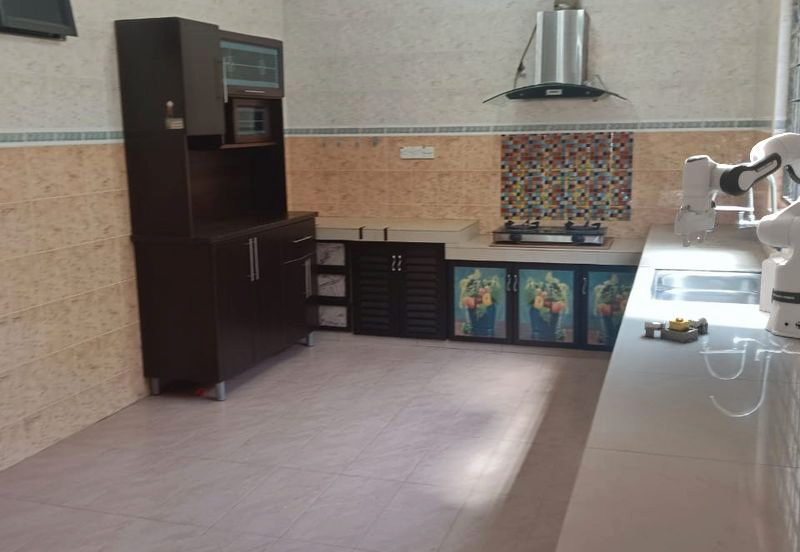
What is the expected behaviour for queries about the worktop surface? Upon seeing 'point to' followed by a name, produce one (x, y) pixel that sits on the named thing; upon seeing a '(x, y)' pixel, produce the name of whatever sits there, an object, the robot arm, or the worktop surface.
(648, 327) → the grey brown arch block
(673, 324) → the coupler
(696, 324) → the grey irregular block
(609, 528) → the worktop surface
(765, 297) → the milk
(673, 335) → the box
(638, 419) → the worktop surface
